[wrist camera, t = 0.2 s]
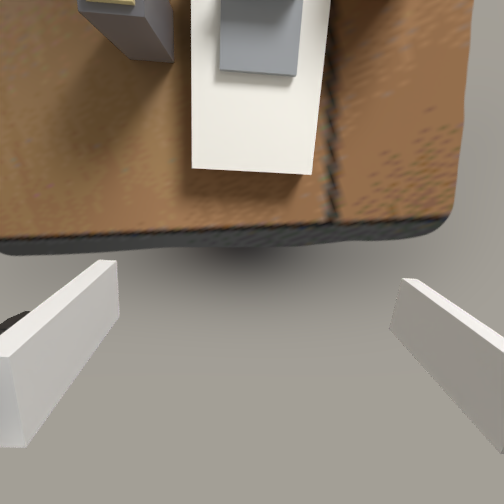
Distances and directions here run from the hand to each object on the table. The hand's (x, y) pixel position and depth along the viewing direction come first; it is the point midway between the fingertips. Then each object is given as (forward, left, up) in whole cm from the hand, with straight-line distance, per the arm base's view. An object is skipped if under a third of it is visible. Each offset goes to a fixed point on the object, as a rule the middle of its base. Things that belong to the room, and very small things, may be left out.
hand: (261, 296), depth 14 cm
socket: (-14, +1, -28) cm, 31 cm away
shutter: (-18, +1, -23) cm, 30 cm away
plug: (-19, -11, -28) cm, 35 cm away
